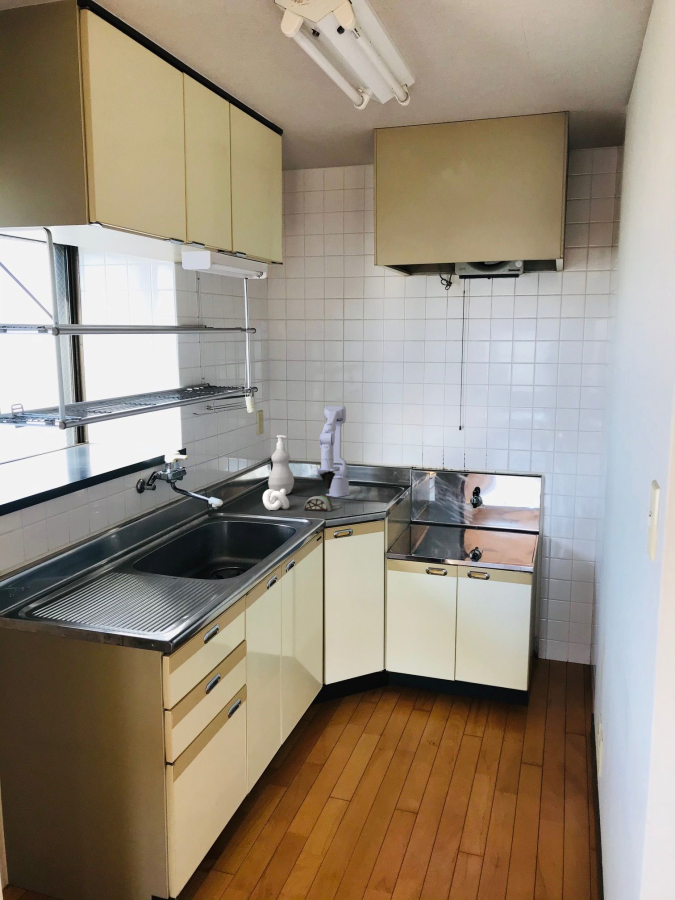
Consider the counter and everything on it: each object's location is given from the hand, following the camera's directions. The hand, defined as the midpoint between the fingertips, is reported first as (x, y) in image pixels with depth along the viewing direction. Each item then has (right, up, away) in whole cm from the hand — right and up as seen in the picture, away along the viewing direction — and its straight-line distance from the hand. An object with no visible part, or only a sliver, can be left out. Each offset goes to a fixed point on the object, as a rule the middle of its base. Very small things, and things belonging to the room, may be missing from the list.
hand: (327, 488), depth 327 cm
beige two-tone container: (-2, -5, -2) cm, 6 cm away
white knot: (-23, -9, -5) cm, 25 cm away
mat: (-2, -8, -1) cm, 9 cm away
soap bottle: (-24, -5, +31) cm, 39 cm away
